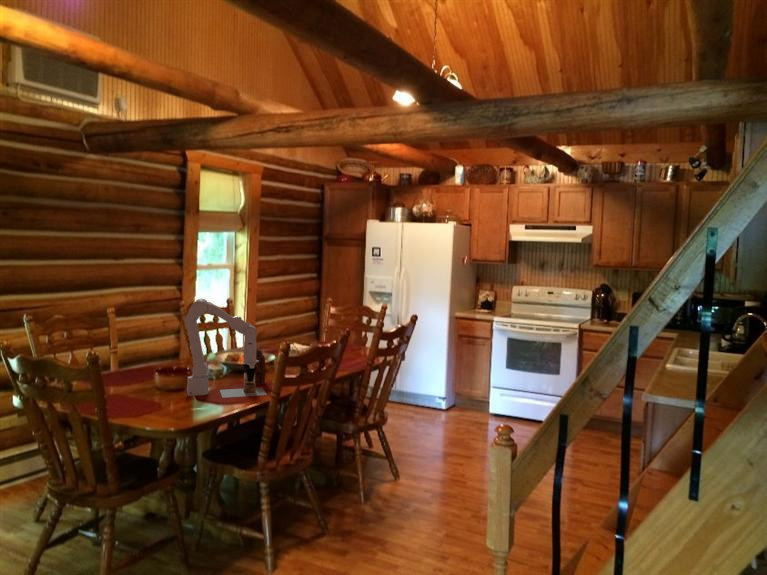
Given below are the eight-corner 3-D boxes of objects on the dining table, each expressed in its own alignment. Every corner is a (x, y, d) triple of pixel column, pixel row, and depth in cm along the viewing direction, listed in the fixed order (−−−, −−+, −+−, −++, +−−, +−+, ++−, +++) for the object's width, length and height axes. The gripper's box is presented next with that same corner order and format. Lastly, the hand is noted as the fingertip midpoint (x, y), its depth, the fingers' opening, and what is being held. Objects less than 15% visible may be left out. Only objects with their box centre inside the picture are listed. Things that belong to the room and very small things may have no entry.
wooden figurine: (241, 383, 310) (241, 347, 308) (249, 381, 315) (249, 346, 314) (259, 386, 304) (260, 350, 302) (268, 384, 310) (268, 348, 308)
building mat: (222, 399, 280) (222, 397, 280) (219, 391, 293) (219, 389, 293) (267, 396, 287) (267, 394, 287) (262, 389, 300) (262, 387, 300)
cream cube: (245, 383, 288) (245, 374, 287) (243, 381, 292) (243, 372, 292) (255, 382, 289) (255, 374, 289) (253, 380, 293) (253, 372, 293)
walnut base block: (244, 393, 288) (244, 385, 287) (243, 391, 292) (243, 382, 292) (255, 393, 290) (255, 384, 289) (254, 390, 294) (254, 382, 294)
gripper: (261, 354, 284) (260, 383, 285) (256, 348, 297) (256, 376, 299) (245, 354, 281) (245, 384, 283) (241, 348, 295) (241, 377, 296)
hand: (249, 380), depth 291 cm, fingers closed on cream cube, 4 cm apart
